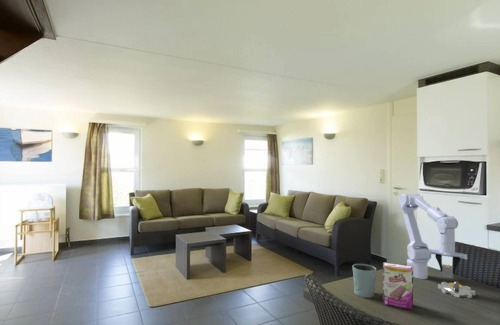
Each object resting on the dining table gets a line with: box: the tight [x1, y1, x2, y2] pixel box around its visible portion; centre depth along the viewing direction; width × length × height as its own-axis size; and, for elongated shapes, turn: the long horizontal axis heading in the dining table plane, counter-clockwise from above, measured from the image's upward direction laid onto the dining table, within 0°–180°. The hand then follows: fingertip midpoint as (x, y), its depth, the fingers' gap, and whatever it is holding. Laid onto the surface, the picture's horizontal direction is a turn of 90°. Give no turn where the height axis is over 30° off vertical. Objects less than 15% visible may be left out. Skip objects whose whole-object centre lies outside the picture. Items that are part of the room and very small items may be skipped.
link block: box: [441, 263, 454, 279], centre depth 131 cm, size 4×4×5 cm
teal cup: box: [352, 263, 377, 299], centre depth 130 cm, size 10×10×12 cm
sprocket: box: [437, 280, 476, 299], centre depth 130 cm, size 14×14×6 cm
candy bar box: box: [382, 262, 414, 311], centre depth 119 cm, size 11×5×16 cm, turn 65°
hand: (447, 272), depth 131 cm, fingers closed on link block, 4 cm apart
